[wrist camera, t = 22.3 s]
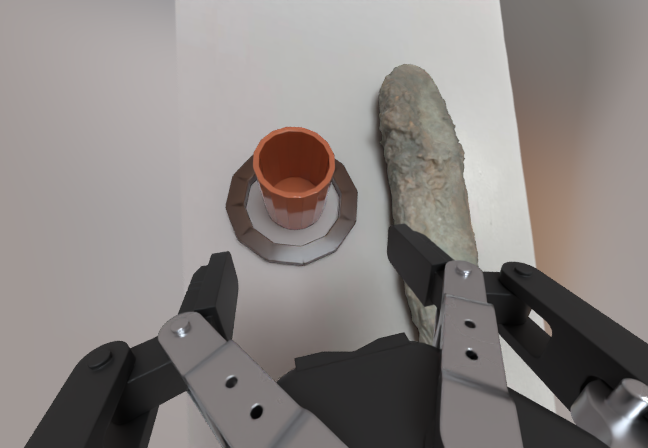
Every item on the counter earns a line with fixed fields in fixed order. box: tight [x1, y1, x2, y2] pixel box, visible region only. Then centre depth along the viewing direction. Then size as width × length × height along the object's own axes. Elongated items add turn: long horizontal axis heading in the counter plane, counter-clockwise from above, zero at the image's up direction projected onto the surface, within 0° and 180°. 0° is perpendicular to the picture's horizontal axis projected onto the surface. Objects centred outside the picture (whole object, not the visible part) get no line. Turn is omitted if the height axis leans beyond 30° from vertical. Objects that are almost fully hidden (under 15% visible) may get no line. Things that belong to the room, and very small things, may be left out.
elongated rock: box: [379, 64, 479, 345], centre depth 28 cm, size 35×5×10 cm
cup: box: [253, 127, 335, 230], centre depth 24 cm, size 6×6×8 cm
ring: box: [226, 154, 358, 266], centre depth 27 cm, size 14×14×1 cm
